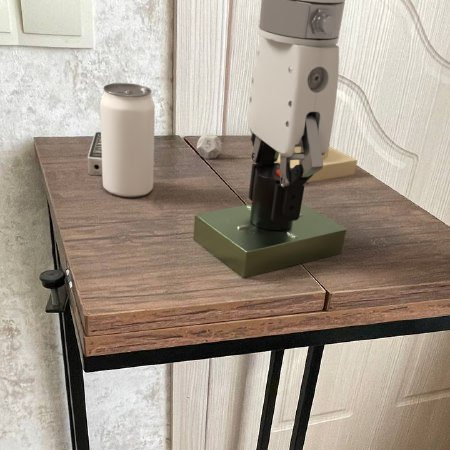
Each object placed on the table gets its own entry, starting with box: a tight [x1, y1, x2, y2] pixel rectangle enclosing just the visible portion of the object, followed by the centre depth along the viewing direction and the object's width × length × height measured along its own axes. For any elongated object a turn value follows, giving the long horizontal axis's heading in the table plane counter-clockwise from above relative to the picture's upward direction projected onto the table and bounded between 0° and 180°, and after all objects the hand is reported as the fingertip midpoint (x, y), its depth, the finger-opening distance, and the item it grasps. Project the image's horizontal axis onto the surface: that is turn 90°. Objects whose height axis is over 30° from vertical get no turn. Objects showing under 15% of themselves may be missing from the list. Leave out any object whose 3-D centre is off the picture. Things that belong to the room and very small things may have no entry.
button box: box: [250, 143, 358, 183], centre depth 93 cm, size 12×10×4 cm
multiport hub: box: [87, 131, 103, 177], centre depth 88 cm, size 4×11×2 cm, turn 4°
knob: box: [250, 164, 293, 230], centre depth 68 cm, size 5×5×6 cm
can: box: [99, 82, 156, 199], centre depth 78 cm, size 6×6×12 cm
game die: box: [196, 133, 222, 160], centre depth 93 cm, size 4×4×3 cm
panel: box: [193, 202, 347, 279], centre depth 71 cm, size 14×10×3 cm
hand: (273, 207), depth 69 cm, fingers closed on knob, 4 cm apart
